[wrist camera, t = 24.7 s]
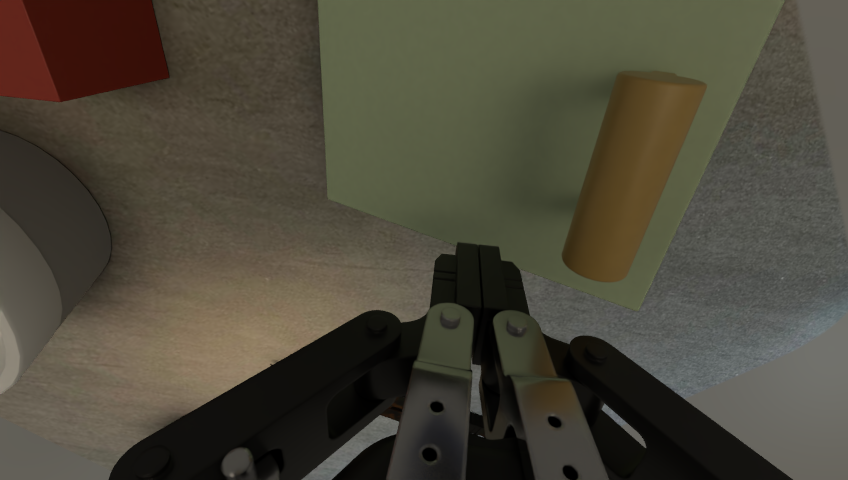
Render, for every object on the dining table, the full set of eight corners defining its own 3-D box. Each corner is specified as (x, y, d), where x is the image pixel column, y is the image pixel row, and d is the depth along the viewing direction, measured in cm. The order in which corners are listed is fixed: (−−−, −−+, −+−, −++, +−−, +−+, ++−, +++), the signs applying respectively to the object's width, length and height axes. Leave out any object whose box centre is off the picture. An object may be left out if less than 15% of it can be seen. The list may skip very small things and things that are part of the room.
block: (79, -9, 23) (-82, -17, 16) (151, -2, 23) (18, -8, 16) (104, 70, 25) (-29, 93, 19) (169, 77, 25) (60, 102, 18)
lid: (814, -74, 9) (911, -151, 5) (639, 301, 15) (624, 396, 11) (327, -73, 16) (205, -108, 12) (337, 194, 21) (258, 231, 18)
